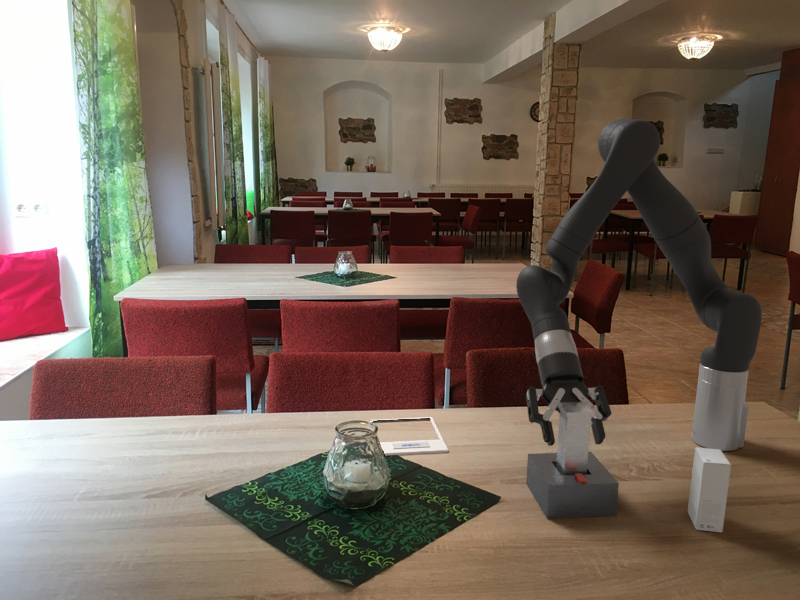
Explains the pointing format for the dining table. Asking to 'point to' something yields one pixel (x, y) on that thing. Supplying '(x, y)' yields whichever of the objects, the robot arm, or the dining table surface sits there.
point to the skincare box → (709, 489)
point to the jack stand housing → (571, 488)
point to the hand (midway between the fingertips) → (575, 443)
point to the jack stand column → (573, 437)
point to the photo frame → (414, 443)
